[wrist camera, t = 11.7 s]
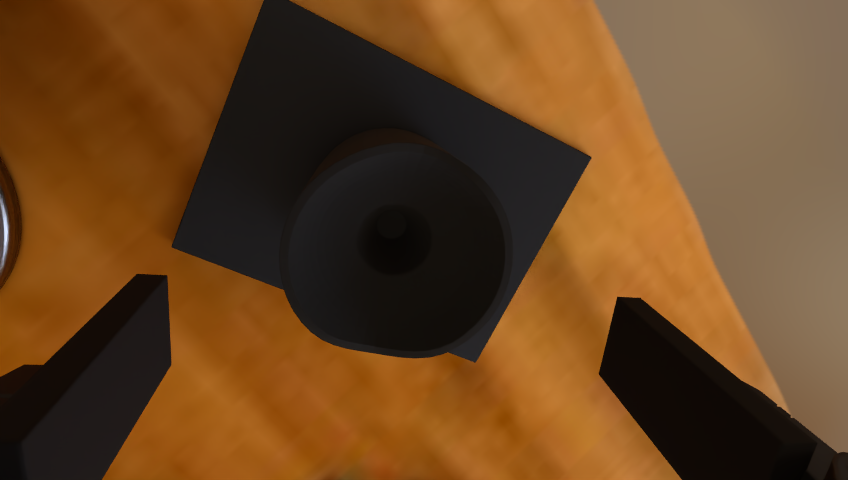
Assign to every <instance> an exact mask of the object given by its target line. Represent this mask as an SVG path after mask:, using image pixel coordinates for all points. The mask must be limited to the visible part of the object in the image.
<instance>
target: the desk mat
mask: <svg viewBox="0 0 848 480" xmlns="http://www.w3.org/2000/svg"><path fill="white" fill-rule="evenodd" d="M379 128H396V129H402V130H407V131H410V132H413V133H416V134H418V135H420V136H422V137H425V138H427V139H428V140H430V141H432V142H434V143H435V144H437V145H438V146H440V147H441V148H443V149H444V150H446V151H447V152H449V153H450V154H452V155H453V156H455V157H456V158H458V159H459V160H460V161H462V162H463V163H465V164H466V165H468V166H469V167H470V168H471V169H472V170H474V171H475V172H476V173H477V174H478V175H479V176H481V177H482V178H483V180H484V181H485V182H486V183H487V184H488V185H489V186H490V187H491V189H492V190H493V191H494V193H495V194H496V196H497V197H498V199H499V200H500V202H501V204H502V206H503V208H504V210H505V213H506V215H507V218H508V221H509V224H510V227H511V232H512V238H513V255H514V257H513V266H512V273H511V277H510V281H509V285H508V287H507V290H506V292H505V295H504V297H503V299H502V301H501V303H500V305H499V306H498V308H497V310H496V311H495V313H494V314H493V316H492V317H491V318H490V320H489V321H488V322H487V323H486V324H485V325H484V326H483V328H482V329H481V330H480V331H479V332H478V333H476V334H475V335H474V336H473V337H472V338H471V339H469V340H468V341H467V342H465V343H464V344H462V345H460V346H459V347H457V348H456V349H453V350H451V351H449V353H452V354H454V355H457V356H459V357H462V358H465V359H467V360H470V361H473V362H476V361H477V359H478V358H479V356H480V354H481V352H482V351H483V349H484V347H485V345H486V343H487V342H488V340H489V338H490V336H491V335H492V333H493V331H494V329H495V328H496V326H497V324H498V322H499V320H500V319H501V317H502V315H503V313H504V312H505V310H506V308H507V306H508V305H509V303H510V301H511V299H512V297H513V296H514V294H515V292H516V290H517V289H518V287H519V285H520V283H521V282H522V280H523V278H524V276H525V274H526V273H527V271H528V269H529V267H530V266H531V264H532V262H533V260H534V259H535V257H536V255H537V253H538V251H539V250H540V248H541V246H542V244H543V243H544V241H545V239H546V237H547V236H548V234H549V232H550V230H551V228H552V227H553V225H554V223H555V221H556V220H557V218H558V216H559V214H560V213H561V211H562V209H563V207H564V206H565V204H566V202H567V200H568V198H569V197H570V195H571V193H572V191H573V190H574V188H575V186H576V184H577V183H578V181H579V179H580V177H581V175H582V174H583V172H584V170H585V168H586V167H587V165H588V163H589V161H590V160H591V157H590V156H588V155H586V154H584V153H583V152H581V151H579V150H577V149H575V148H573V147H571V146H569V145H567V144H565V143H563V142H561V141H559V140H557V139H556V138H554V137H552V136H550V135H548V134H546V133H544V132H542V131H540V130H538V129H536V128H534V127H532V126H530V125H529V124H527V123H525V122H523V121H521V120H519V119H517V118H515V117H513V116H511V115H509V114H507V113H505V112H503V111H501V110H500V109H498V108H496V107H494V106H492V105H490V104H488V103H486V102H484V101H482V100H480V99H478V98H476V97H474V96H473V95H471V94H469V93H467V92H465V91H463V90H461V89H459V88H457V87H455V86H453V85H451V84H449V83H447V82H446V81H444V80H442V79H440V78H438V77H436V76H434V75H432V74H430V73H428V72H426V71H424V70H422V69H420V68H419V67H417V66H415V65H413V64H411V63H409V62H407V61H405V60H403V59H401V58H399V57H397V56H395V55H393V54H391V53H390V52H388V51H386V50H384V49H382V48H380V47H378V46H376V45H374V44H372V43H370V42H368V41H366V40H364V39H363V38H361V37H359V36H357V35H355V34H353V33H351V32H349V31H347V30H345V29H343V28H341V27H339V26H337V25H336V24H334V23H332V22H330V21H328V20H326V19H324V18H322V17H320V16H318V15H316V14H314V13H312V12H310V11H309V10H307V9H305V8H303V7H301V6H299V5H297V4H295V3H293V2H291V1H289V0H264V1H263V4H262V7H261V9H260V12H259V15H258V17H257V20H256V23H255V25H254V28H253V31H252V33H251V36H250V39H249V41H248V44H247V47H246V49H245V52H244V55H243V57H242V60H241V63H240V65H239V68H238V71H237V73H236V76H235V79H234V81H233V84H232V87H231V89H230V92H229V95H228V97H227V100H226V103H225V105H224V108H223V111H222V113H221V116H220V119H219V121H218V124H217V127H216V129H215V132H214V135H213V137H212V140H211V143H210V145H209V148H208V151H207V153H206V156H205V159H204V161H203V164H202V167H201V169H200V172H199V175H198V177H197V180H196V183H195V185H194V188H193V191H192V193H191V196H190V199H189V201H188V204H187V207H186V209H185V212H184V215H183V217H182V220H181V223H180V225H179V228H178V231H177V233H176V236H175V239H174V241H173V244H172V248H175V249H178V250H180V251H183V252H185V253H188V254H191V255H193V256H196V257H199V258H201V259H204V260H207V261H209V262H212V263H214V264H217V265H220V266H222V267H225V268H228V269H230V270H233V271H236V272H238V273H241V274H243V275H246V276H249V277H251V278H254V279H257V280H259V281H262V282H265V283H267V284H270V285H272V286H275V287H278V288H280V289H283V290H284V288H283V285H282V280H281V275H280V268H279V250H280V240H281V236H282V232H283V228H284V225H285V222H286V220H287V217H288V215H289V212H290V210H291V208H292V207H293V205H294V203H295V202H296V200H297V198H298V197H299V195H300V193H301V192H302V190H303V189H304V187H305V186H306V184H307V183H308V181H309V180H310V178H311V177H312V175H313V174H314V172H315V171H316V169H317V168H318V167H319V165H320V164H321V163H322V162H323V160H324V159H325V158H326V157H327V155H328V154H329V153H330V152H331V151H332V150H333V149H334V148H335V147H337V146H338V145H339V144H341V143H342V142H343V141H345V140H346V139H348V138H350V137H352V136H354V135H356V134H359V133H361V132H364V131H368V130H372V129H379Z"/></svg>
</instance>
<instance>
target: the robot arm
mask: <svg viewBox="0 0 848 480" xmlns="http://www.w3.org/2000/svg"><path fill="white" fill-rule="evenodd" d="M20 240H21V215H20V207H19V203H18V198H17V194H16V191H15V188H14V185H13V182H12V179H11V177H10V175H9V173H8V171H7V168H6V166H5V164H4V163H3V161H2V159H1V157H0V289H1V288H2V286H3V285H4V283H5V282H6V280H7V279H8V277H9V275H10V273H11V271H12V269H13V267H14V264H15V262H16V259H17V256H18V251H19V247H20ZM170 366H171V344H170V323H169V302H168V280H167V275H148V274H136V275H135V276H134V277H133V278H132V279H131V280H130V281H129V282H128V283H127V284H126V285H125V286H124V287H123V288H122V289H121V290H120V291H119V292H118V293H117V294H116V295H115V296H114V297H113V298H112V299H111V300H110V301H109V302H108V303H107V304H106V305H105V306H104V307H103V308H102V309H100V310H99V311H98V312H97V313H96V314H95V315H94V316H93V317H92V318H91V319H90V320H89V321H88V322H87V323H86V324H85V325H84V326H83V327H82V328H81V329H80V330H79V331H78V332H77V333H76V334H75V335H74V336H73V337H72V338H71V339H70V340H69V341H68V342H67V343H66V344H65V345H64V346H62V347H61V348H60V349H59V350H58V351H57V352H56V353H55V354H54V355H53V356H52V357H51V358H50V359H49V360H48V361H47V362H46V363H45V364H44V365H23V366H21V367H19V368H17V369H15V370H13V371H11V372H9V373H7V374H5V375H3V376H1V377H0V480H102V478H103V477H104V475H105V473H106V472H107V470H108V468H109V467H110V465H111V463H112V462H113V460H114V458H115V457H116V455H117V454H118V452H119V450H120V449H121V447H122V445H123V444H124V442H125V440H126V439H127V437H128V435H129V434H130V432H131V430H132V429H133V427H134V425H135V424H136V422H137V420H138V419H139V417H140V415H141V414H142V412H143V411H144V409H145V407H146V406H147V404H148V402H149V401H150V399H151V397H152V396H153V394H154V392H155V391H156V389H157V387H158V386H159V384H160V382H161V381H162V379H163V377H164V376H165V374H166V372H167V371H168V369H169V368H170ZM599 375H600V376H601V378H602V379H603V380H604V381H605V383H606V384H607V385H608V386H609V388H610V389H611V390H612V392H613V393H614V394H615V395H616V397H617V398H618V399H619V400H620V402H621V403H622V404H623V405H624V407H625V408H626V409H627V411H628V412H629V413H630V414H631V416H632V417H633V418H634V419H635V421H636V422H637V423H638V424H639V426H640V427H641V428H642V429H643V431H644V432H645V433H646V435H647V436H648V437H649V438H650V440H651V441H652V442H653V443H654V445H655V446H656V447H657V448H658V450H659V451H660V452H661V454H662V455H663V456H664V457H665V459H666V460H667V461H668V462H669V464H670V465H671V466H672V467H673V469H674V470H675V471H676V473H677V474H678V475H679V476H680V478H681V479H682V480H848V453H846V452H841V453H837V452H836V451H834V450H833V449H832V448H831V447H829V446H828V445H827V444H826V443H824V442H823V441H822V440H821V439H819V438H818V437H817V436H815V435H814V434H813V433H812V432H811V431H809V430H808V429H807V428H806V427H804V426H803V425H802V424H801V423H799V422H798V421H797V420H796V419H794V418H791V417H790V416H791V415H790V414H788V413H787V412H786V411H785V410H783V409H782V408H781V407H777V404H776V403H775V402H773V401H772V400H771V399H770V398H768V397H767V396H766V395H765V394H763V393H762V392H761V391H759V390H758V389H756V388H754V387H752V386H750V385H749V384H747V383H745V382H743V381H741V380H740V379H739V378H737V377H736V376H735V375H734V374H733V373H731V372H730V371H729V370H728V369H726V368H725V367H724V366H723V365H722V364H720V363H719V362H718V361H717V360H715V359H714V358H713V357H712V356H711V355H709V354H708V353H707V352H706V351H704V350H703V349H702V348H701V347H700V346H698V345H697V344H696V343H695V342H693V341H692V340H691V339H690V338H689V337H687V336H686V335H685V334H684V333H682V332H681V331H680V330H679V329H678V328H676V327H675V326H674V325H673V324H671V323H670V322H669V321H668V320H667V319H665V318H664V317H663V316H662V315H660V314H659V313H658V312H657V311H655V310H654V309H653V308H652V307H651V306H649V305H648V304H647V303H646V302H644V301H643V300H642V299H641V298H630V297H617V300H616V305H615V309H614V313H613V317H612V321H611V325H610V330H609V334H608V338H607V342H606V346H605V351H604V355H603V359H602V363H601V367H600V371H599Z"/></svg>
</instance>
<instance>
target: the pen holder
mask: <svg viewBox="0 0 848 480" xmlns="http://www.w3.org/2000/svg"><path fill="white" fill-rule="evenodd" d="M513 257H514V255H513V238H512V232H511V227H510V224H509V221H508V218H507V215H506V213H505V210H504V208H503V206H502V204H501V202H500V200H499V199H498V197H497V196H496V194H495V193H494V191H493V190H492V189H491V187H490V186H489V185H488V184H487V183H486V182H485V181H484V180H483V178H482V177H481V176H479V175H478V174H477V173H476V172H475V171H474V170H472V169H471V168H470V167H469V166H468V165H466V164H465V163H463V162H462V161H460V160H459V159H458V158H456V157H455V156H453V155H452V154H450V153H449V152H447V151H446V150H444V149H443V148H441V147H440V146H438V145H437V144H435V143H434V142H432V141H430V140H428V139H427V138H425V137H422V136H420V135H418V134H416V133H413V132H410V131H407V130H402V129H396V128H379V129H372V130H368V131H364V132H361V133H359V134H356V135H354V136H352V137H350V138H348V139H346V140H345V141H343V142H342V143H341V144H339V145H338V146H337V147H335V148H334V149H333V150H332V151H331V152H330V153H329V154H328V155H327V157H326V158H325V159H324V160H323V162H322V163H321V164H320V165H319V167H318V168H317V169H316V171H315V172H314V174H313V175H312V177H311V178H310V180H309V181H308V183H307V184H306V186H305V187H304V189H303V190H302V192H301V193H300V195H299V197H298V198H297V200H296V202H295V203H294V205H293V207H292V208H291V210H290V212H289V215H288V217H287V220H286V222H285V225H284V228H283V232H282V236H281V240H280V250H279V268H280V275H281V280H282V285H283V288H284V291H285V294H286V297H287V299H288V301H289V303H290V305H291V307H292V309H293V311H294V312H295V314H296V315H297V317H298V318H299V319H300V321H301V322H302V323H303V324H304V325H305V326H306V327H307V328H308V329H309V330H310V331H311V332H312V333H313V334H315V335H316V336H317V337H319V338H320V339H322V340H324V341H326V342H328V343H330V344H333V345H336V346H339V347H343V348H346V349H352V350H357V351H363V352H369V353H376V354H382V355H388V356H395V357H403V358H428V357H433V356H437V355H441V354H444V353H447V352H449V351H451V350H453V349H456V348H457V347H459V346H460V345H462V344H464V343H465V342H467V341H468V340H469V339H471V338H472V337H473V336H474V335H475V334H476V333H478V332H479V331H480V330H481V329H482V328H483V326H484V325H485V324H486V323H487V322H488V321H489V320H490V318H491V317H492V316H493V314H494V313H495V311H496V310H497V308H498V306H499V305H500V303H501V301H502V299H503V297H504V295H505V292H506V290H507V287H508V285H509V281H510V277H511V273H512V266H513Z"/></svg>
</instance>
